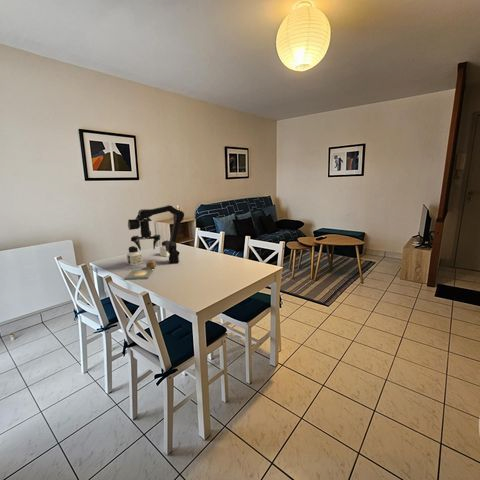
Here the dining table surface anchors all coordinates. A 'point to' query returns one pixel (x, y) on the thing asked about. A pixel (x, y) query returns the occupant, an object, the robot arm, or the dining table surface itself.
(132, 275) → the coaster
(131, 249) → the container
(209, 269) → the dining table surface
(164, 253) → the medicine bottle
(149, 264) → the cube
